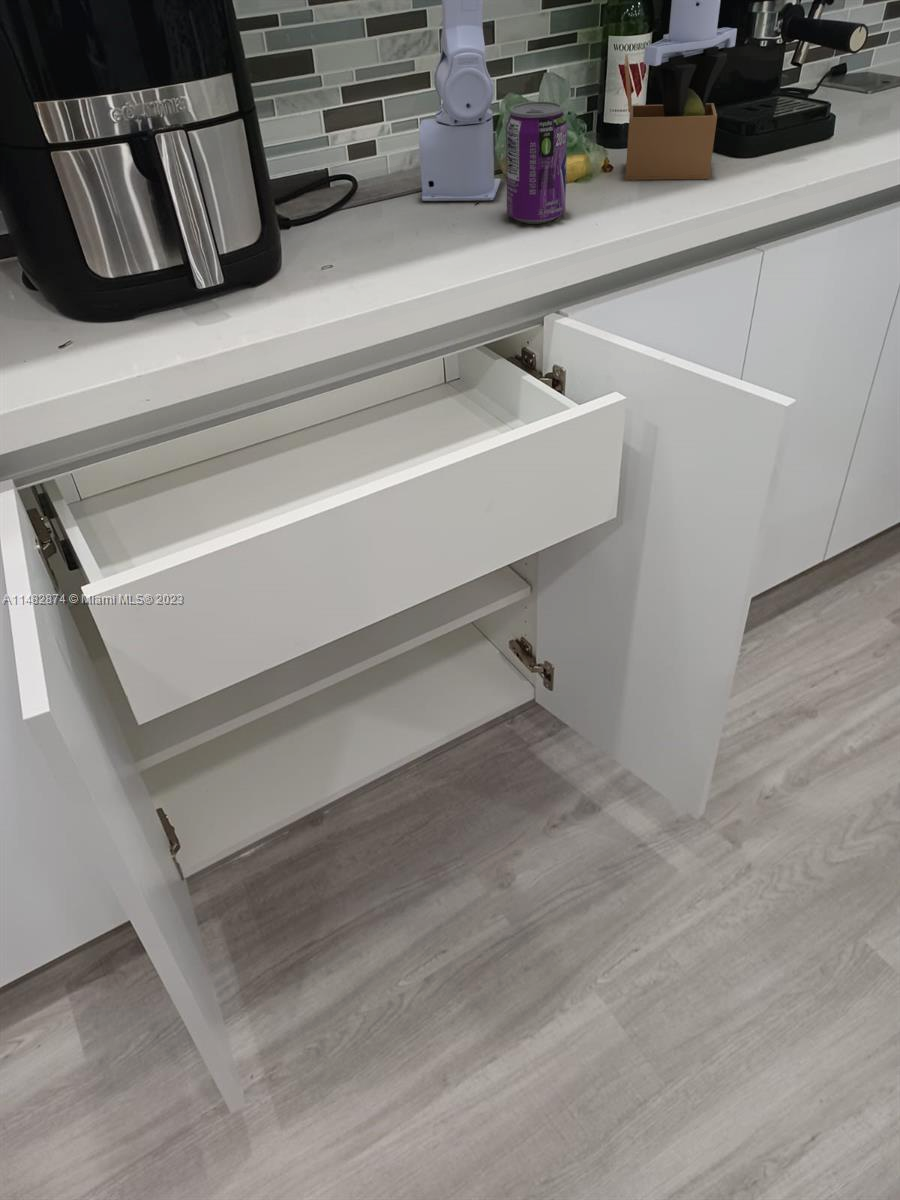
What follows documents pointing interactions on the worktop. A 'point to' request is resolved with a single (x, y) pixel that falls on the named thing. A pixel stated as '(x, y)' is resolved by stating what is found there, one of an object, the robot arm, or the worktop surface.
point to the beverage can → (536, 161)
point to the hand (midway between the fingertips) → (683, 120)
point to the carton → (669, 144)
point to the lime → (693, 104)
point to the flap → (628, 83)
